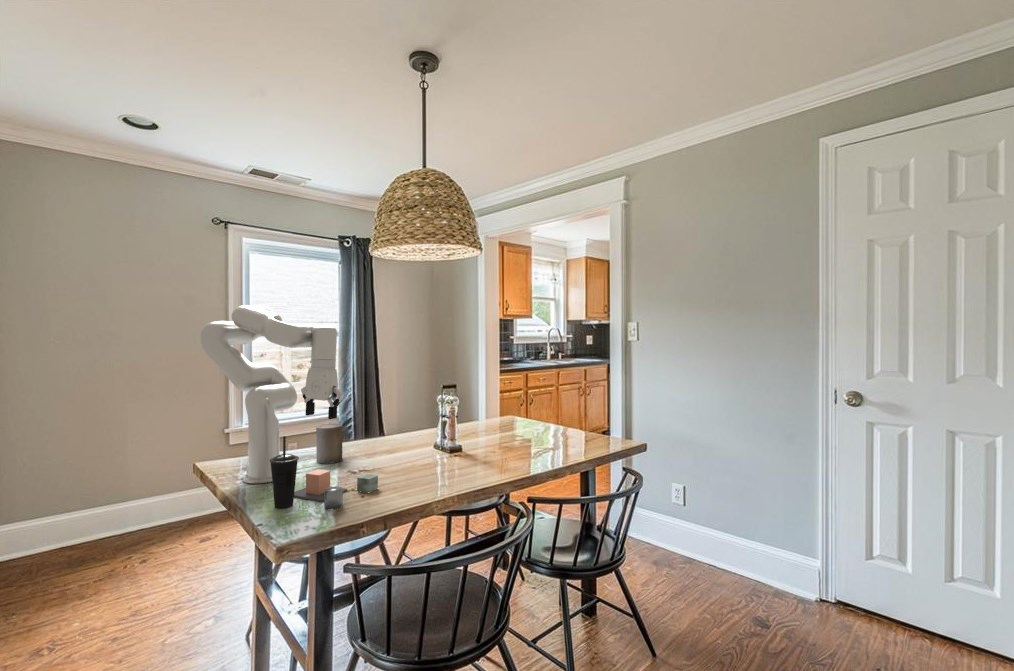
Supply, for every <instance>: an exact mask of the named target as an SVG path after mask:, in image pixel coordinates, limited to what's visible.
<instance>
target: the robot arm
mask: <svg viewBox="0 0 1014 671" xmlns="http://www.w3.org/2000/svg"><path fill="white" fill-rule="evenodd" d="M261 336H263V337H264V338H265V339H266V340H267V341H268V342H270V343H272V344H276V345H278V346H281V347H285V348H292V349H295V348H298V349H299V348H311V351H310V352H311V354H310V355H311V356H310V360H309V363H310V367H309V368H308V370H307V374H306V381H305V386H303V387H302V388H301V389H300V392H301V395H302V398H303V400H304V404H305V416H308V417H309V416H312V415H314V414H315V410H316V409H315V407H316V403H315V400H316V401H327V402H328V404H329V406H328V414H327V415H328V416H327V417H328V418H327V419H328V420H335V419H337V417H338V407H339V406H340V404H341V403H342V401H343V399H344V396H345V393H344V392H342V391H341V390H340V389H339V381H338V380H339V379H338V378H339V377H338V371H337V369H336V364H337V362H336V360H337V342H338V340H337V338H338V331H337V328H336V327H335V326H334V327H333V326H326V325H325V326H322V325H321V326H319V325H316V324H315V325H314V324H303V323H302V324H301V323H297V324H295V323H294V324H293V323H287V322H284V321H283V319H282V317H281V316H280V314H278V313H276V312H274V310H273V309H272V308H270V307H268V306H265V305H253V304H250V305H249V304H245V305H239V306H237V307H236V308H235V309H233V311H232V313H231V321H230V320H229V321H228V320H217V321H211V322H208V323H206V324H205V325H204V326H203V327H202V328H201V330H200V334H199V337H200V339H199V340H200V345H201V347H202V350H203V352H204V354H205V355H206V356H207V357H208V358H209V359H210V360H211V361H212V362H213V363H214V364H215V365H216V366H217V367H218V368H219V369H220V370H221V372H222V373H223V374H224V375H225V377H226V378H227V379H228V380H229V382H230V383H231V384H232V385H233V386H234V387H235V388H236V389H237V390H238V391H240V392H247V393H246V395H245V398H244V404H245V410H246V414H247V423H248V424H247V425H248V430H247V431H248V438H247V439H248V441H247V442H248V448H247V449H248V450H247V451H248V452H247V453H248V457H247V458H248V459H247V460H248V462H247V463H246V464H245V465H244V466H242V467H241V470H242V471H243V472H244V471H246V474H245V475H244V476H242V481H243V482H244V483H246V484H252V485H253V484H254V485H255V484H258V485H259V484H266V483H267V482H268V483H271V482H272V472H271V463H270V459H271V458H274V457H275V456H277V455H281V454H280V450H281V449H280V446H281V445H280V444H281V443H280V438H281V437H280V436H281V434H280V432H281V431H280V430H281V429H280V422H279V419H278V417H277V415H276V412H282V411H286V410H289V409H292V408H293V407H294V406H295V405H296V403H297V400H298V394H297V391H296V389H295V387H294V386H293V384H292V382H290V381H289V380H288V379H287V378H286V376H285V375H284V374H283V373H282V372H281V371H280V370H279V369H278V368H277V367H276V366H275V365H273V364H272V363H271V364H270V363H267V362H259V363H257V362H256V363H255V362H251V361H250V360H249V359H248V358H247V357H246V356H245V355H244V353H243V352H241V351H240V350H239V349H237V348H235V347H233V346H235V345H237V346H239V345H241V346H242V345H248V344H249V343H252V342H253V341H255V340H256V339H258V338H260V337H261Z"/></svg>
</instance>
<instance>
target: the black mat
mask: <svg viewBox="0 0 1014 671" xmlns="http://www.w3.org/2000/svg"><path fill="white" fill-rule="evenodd" d="M330 487H333V486H331V485H330ZM342 488H343V493H345V491H346V492H347V491H348V488H344V487H342ZM294 498H297V499H303V500H307V501H313V502H320V503H323V502H324V493H322V494H320V495H315V494H309V493H306V487H303V488H301V489H299V490H297V491H294Z"/></svg>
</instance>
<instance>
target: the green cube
mask: <svg viewBox="0 0 1014 671" xmlns="http://www.w3.org/2000/svg"><path fill="white" fill-rule="evenodd" d="M356 479H357V480H356V481H357V482H356V485H357V487H356V492H357V491H361V492H360V493H364V492H371V491H373V490H375V489H377V488H378V489H379V474H372V473H365V474H362V475H360V476H357V478H356ZM378 489H377V490H378ZM375 491H376V490H375ZM373 492H374V491H373ZM371 493H372V492H371Z"/></svg>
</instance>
